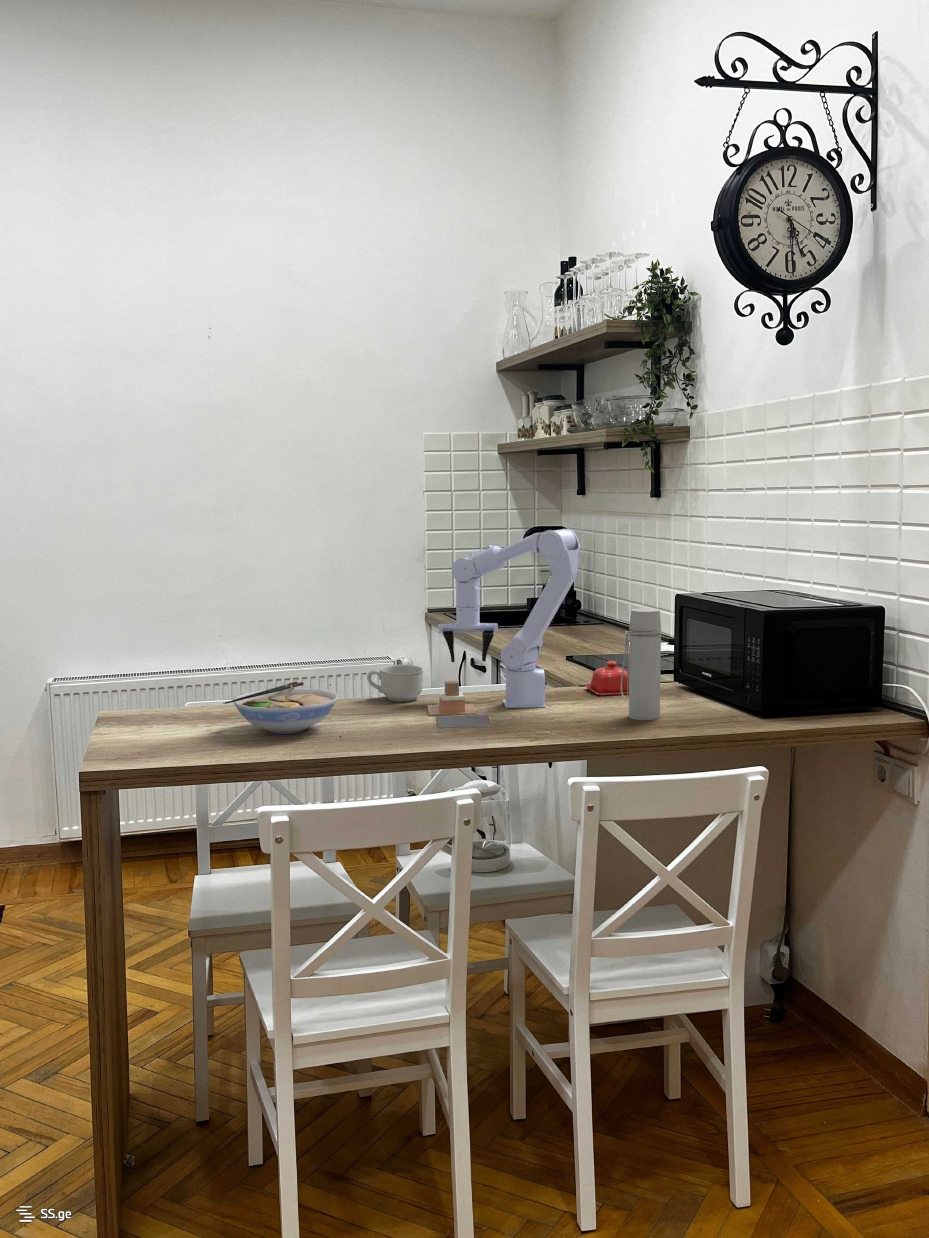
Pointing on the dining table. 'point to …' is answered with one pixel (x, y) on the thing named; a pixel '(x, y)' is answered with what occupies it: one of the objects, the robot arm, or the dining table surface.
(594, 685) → the butter dish
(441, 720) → the mat
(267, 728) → the ramen bowl
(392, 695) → the teacup
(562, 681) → the dining table surface
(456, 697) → the lid
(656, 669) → the water bottle
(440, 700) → the salmon stepped square block
